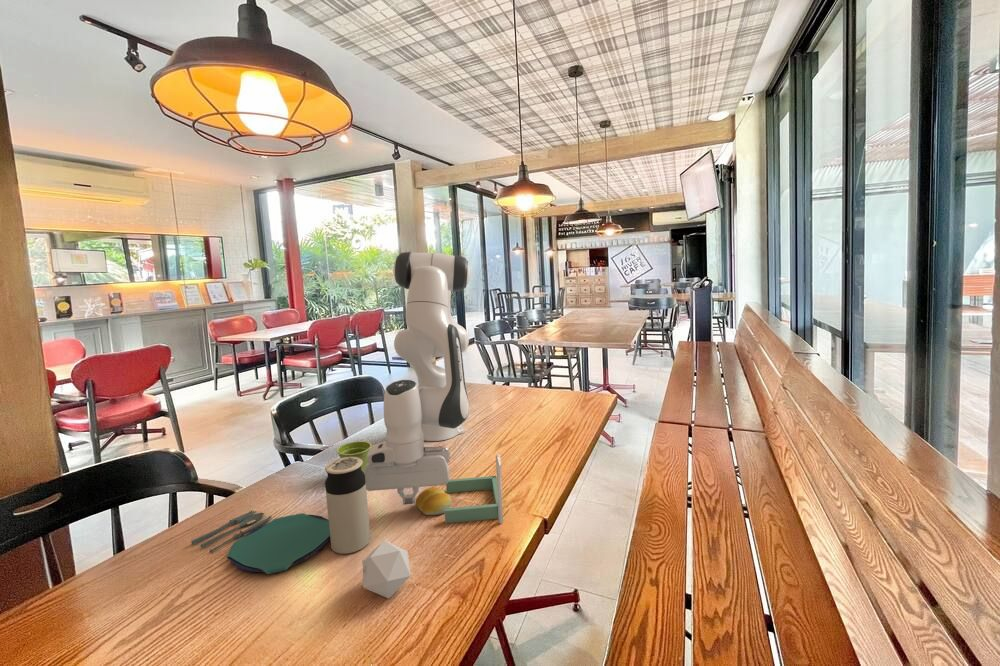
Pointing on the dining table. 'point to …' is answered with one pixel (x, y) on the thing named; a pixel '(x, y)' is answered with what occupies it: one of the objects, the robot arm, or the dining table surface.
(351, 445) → the plant pot
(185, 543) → the dining table surface
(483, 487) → the green pocket
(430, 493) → the bread roll
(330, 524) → the travel mug
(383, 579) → the die
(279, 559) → the cutlery set
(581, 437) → the dining table surface
